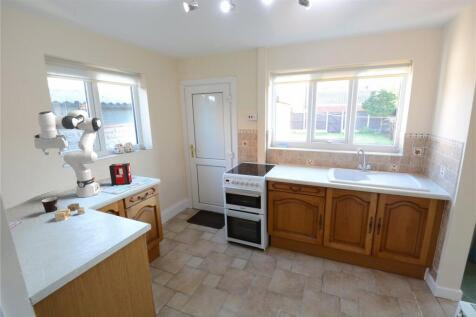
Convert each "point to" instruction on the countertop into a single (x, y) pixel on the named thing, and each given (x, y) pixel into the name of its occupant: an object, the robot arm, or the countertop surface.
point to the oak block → (62, 214)
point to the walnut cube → (73, 206)
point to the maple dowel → (80, 211)
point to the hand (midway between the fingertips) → (53, 154)
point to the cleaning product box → (120, 174)
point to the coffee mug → (50, 204)
